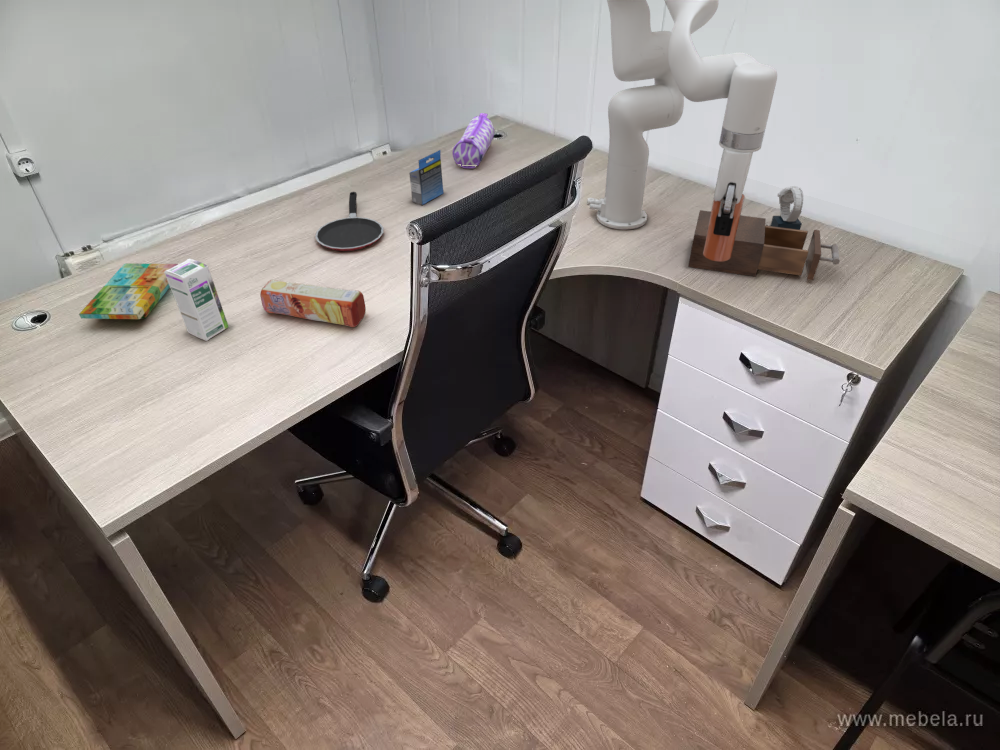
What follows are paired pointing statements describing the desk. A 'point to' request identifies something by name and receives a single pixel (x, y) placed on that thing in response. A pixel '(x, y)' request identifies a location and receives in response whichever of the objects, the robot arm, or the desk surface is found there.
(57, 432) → the desk surface
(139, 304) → the puzzle game
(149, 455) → the desk surface
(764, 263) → the drawer
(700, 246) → the cabinet
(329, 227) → the frying pan
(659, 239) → the desk surface
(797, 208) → the watch
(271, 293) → the snack package
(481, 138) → the pencil case
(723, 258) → the pencil cup
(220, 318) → the syrup box
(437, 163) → the tape cartridge
